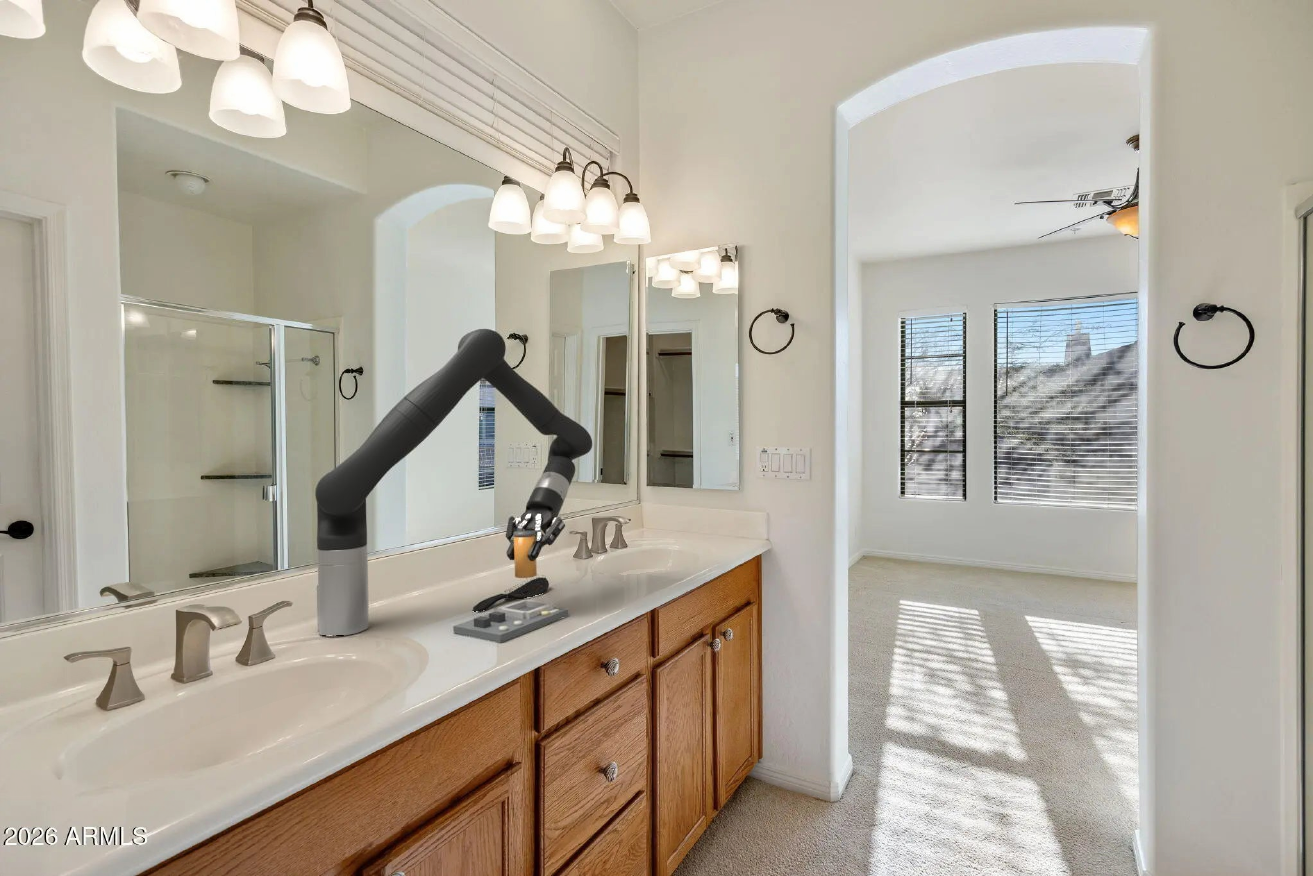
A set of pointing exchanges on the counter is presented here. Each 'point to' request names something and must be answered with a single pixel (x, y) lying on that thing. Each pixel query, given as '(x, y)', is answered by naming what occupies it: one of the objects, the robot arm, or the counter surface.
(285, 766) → the counter surface
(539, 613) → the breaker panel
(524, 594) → the hairbrush
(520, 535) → the orange lidded container
